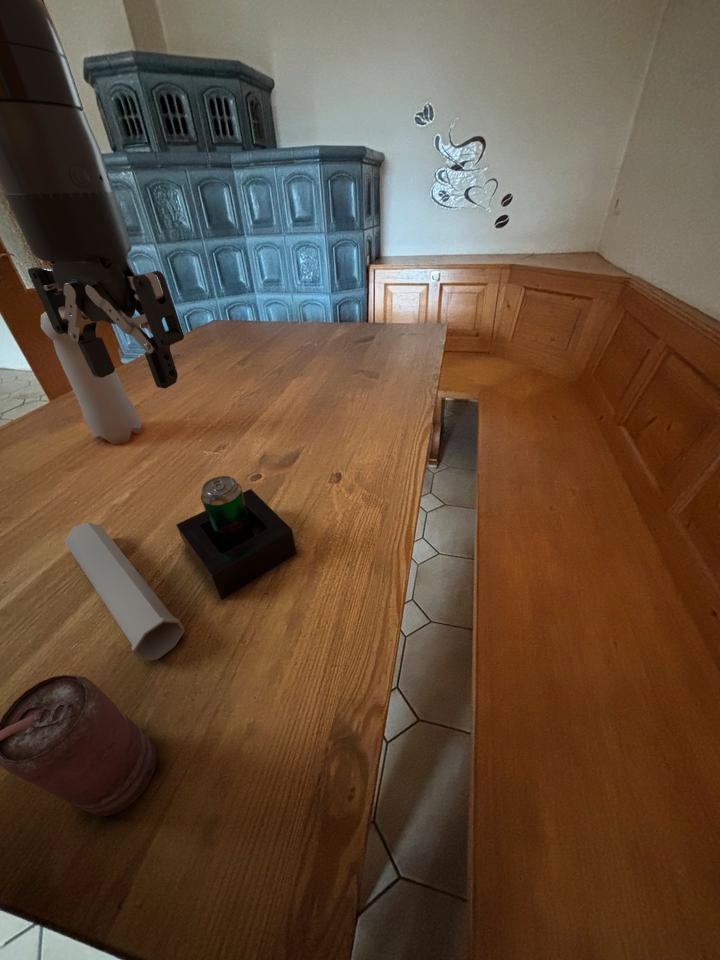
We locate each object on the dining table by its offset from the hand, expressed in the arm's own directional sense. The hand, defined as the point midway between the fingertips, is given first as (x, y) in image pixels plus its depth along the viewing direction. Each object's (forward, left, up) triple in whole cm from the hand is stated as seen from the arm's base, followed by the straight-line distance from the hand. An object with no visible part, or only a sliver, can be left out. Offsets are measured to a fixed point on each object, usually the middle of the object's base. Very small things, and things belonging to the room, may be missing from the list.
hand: (135, 379), depth 41 cm
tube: (-11, -1, -26) cm, 28 cm away
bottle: (0, +41, -26) cm, 48 cm away
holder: (+4, -5, -26) cm, 27 cm away
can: (-17, -22, -26) cm, 38 cm away
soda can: (+4, -5, -26) cm, 27 cm away
